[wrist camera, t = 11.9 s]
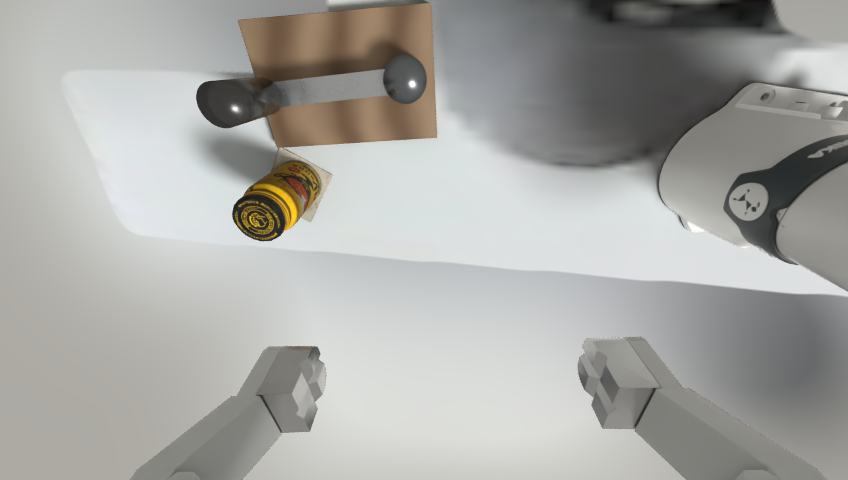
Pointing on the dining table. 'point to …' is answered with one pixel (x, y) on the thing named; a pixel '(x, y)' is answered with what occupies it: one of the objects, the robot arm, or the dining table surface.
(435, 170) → the dining table surface
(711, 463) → the robot arm
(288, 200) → the condiment
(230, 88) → the lever
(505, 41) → the dining table surface
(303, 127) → the board
